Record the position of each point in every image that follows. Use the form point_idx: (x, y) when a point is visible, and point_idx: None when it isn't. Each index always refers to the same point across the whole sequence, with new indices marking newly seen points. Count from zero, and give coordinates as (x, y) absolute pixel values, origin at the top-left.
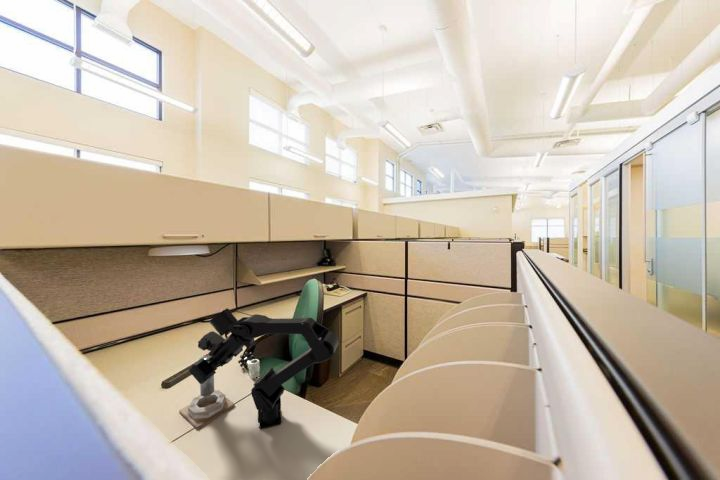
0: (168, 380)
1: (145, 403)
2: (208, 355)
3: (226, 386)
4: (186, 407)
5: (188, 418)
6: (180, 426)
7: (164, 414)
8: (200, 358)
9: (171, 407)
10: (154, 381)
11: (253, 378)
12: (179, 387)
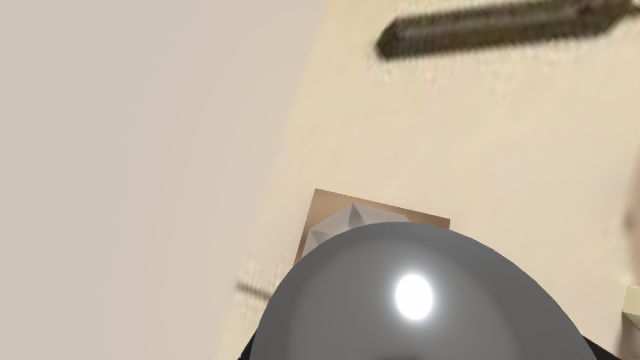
0: (406, 26)
1: (311, 72)
2: (542, 324)
3: (498, 230)
4: (333, 198)
5: (297, 253)
6: (275, 249)
7: (297, 157)
8: (340, 244)
9: (325, 147)
10: (384, 3)
11: (636, 323)
12: (399, 82)
